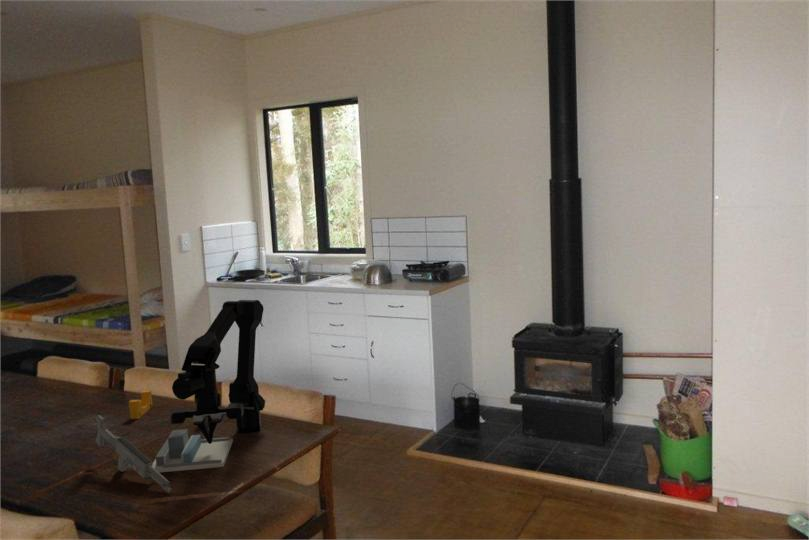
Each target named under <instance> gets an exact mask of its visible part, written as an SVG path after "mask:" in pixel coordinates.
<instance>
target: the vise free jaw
mask: <svg viewBox="0 0 809 540" xmlns="http://www.w3.org/2000/svg"><path fill="white" fill-rule="evenodd" d="M201 439H202V435H201V434H193V435H191V436H190V438H189V441H188V443H187V445H186V446H185V448H184V450H183V452H182V454H181V460H182V463H186V462H192V461H193V459H194V457H195V455H196V453H197V451H198V449H199V447H200V445H201Z"/></svg>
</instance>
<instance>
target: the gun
mask: <svg viewBox="0 0 809 540" xmlns="http://www.w3.org/2000/svg"><path fill="white" fill-rule="evenodd" d="M95 418H96V419H95V421H96V426H97V434H96V439H95V443H96V444H97V445H98V446H99V447H100V448H101V447H104V446H105V441H107V442H109V444H110V445H112V446H113V447H114V448H115V452H116V453H117V454H118V455H119V456H118V459H117V469H118V471H120V472H121V473H123V472H126V467H129V469H133V470H134V471H135V472H136V473H137V474H138V475H140V477H141V478H142V479H144V480H145V481H147V480H148V479H150V480H151V479H152V480H154V482H155V483H157V484H158V485H159V486H161V488H162V490H164V491H165V492H167V493H168V494H170V493H172V488H171V484H170V483H171V482H170V481H169V480H168V479H167V478H166V477H165V476H164V475H162V474H161V472H160V473H159V472H158V471H157V470H156V469H154V468H153V467H152V464H153V462H154V461H152V460H151V459H149V458H148V457H147V456H146V455H145V454H144V453H142V452H141V451H140V450H139V449H138V448H137V447H136V446H134V444H132V442H130V441H129V440H128V439H126V438H125V437H124V436H116V435H115V434H113V432H112V431H110V430H109V429H108V428H107V427H106V423H105V422H106V419H105V418H104V417H103V416H102V415H100V414H98V415H96V417H95Z"/></svg>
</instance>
